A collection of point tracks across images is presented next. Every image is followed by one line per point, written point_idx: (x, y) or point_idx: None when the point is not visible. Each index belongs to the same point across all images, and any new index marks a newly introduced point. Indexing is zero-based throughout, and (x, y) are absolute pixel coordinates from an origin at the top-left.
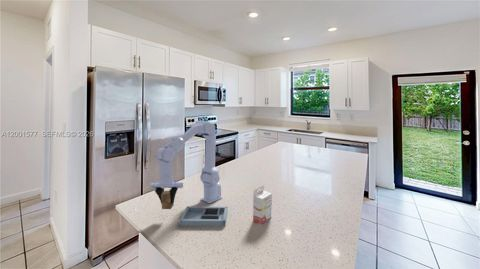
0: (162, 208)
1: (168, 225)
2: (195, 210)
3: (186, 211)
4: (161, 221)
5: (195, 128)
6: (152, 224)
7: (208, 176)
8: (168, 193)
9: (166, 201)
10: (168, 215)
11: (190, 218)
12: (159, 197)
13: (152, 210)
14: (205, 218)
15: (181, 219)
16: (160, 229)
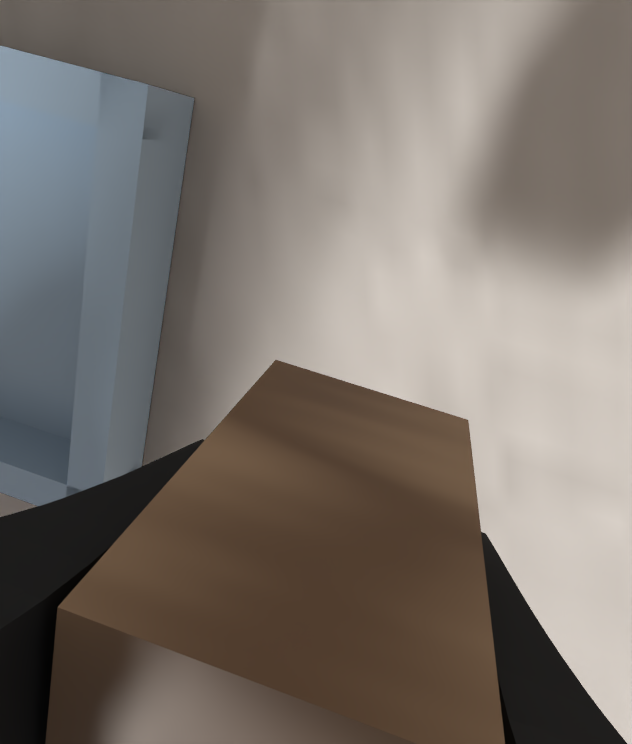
0: (454, 423)
1: (358, 165)
2: (8, 432)
3: (79, 378)
4: (475, 322)
5: None
6: (621, 266)
7: None
8: (143, 714)
9: (320, 476)
10: None
11: (57, 265)
12: (563, 682)
13: (621, 678)
14: None
15: (110, 115)
16: (480, 59)
